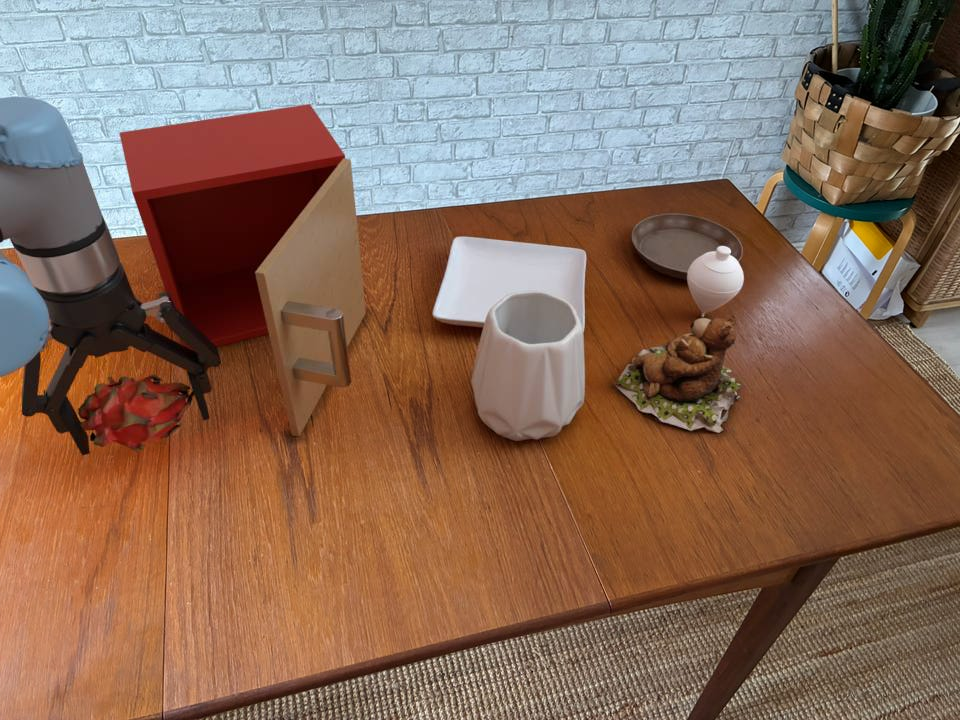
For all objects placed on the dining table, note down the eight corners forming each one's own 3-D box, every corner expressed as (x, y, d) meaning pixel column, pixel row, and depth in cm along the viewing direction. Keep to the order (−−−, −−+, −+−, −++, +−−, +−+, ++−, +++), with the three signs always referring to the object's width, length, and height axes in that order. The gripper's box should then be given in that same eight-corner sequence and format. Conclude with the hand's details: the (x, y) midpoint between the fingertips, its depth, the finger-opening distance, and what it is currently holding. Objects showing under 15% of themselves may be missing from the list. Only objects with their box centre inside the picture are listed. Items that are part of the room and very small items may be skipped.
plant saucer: (621, 225, 122) (624, 210, 120) (722, 228, 122) (727, 213, 120) (638, 287, 109) (641, 271, 107) (751, 290, 109) (757, 274, 107)
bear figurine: (642, 340, 100) (660, 270, 91) (747, 381, 94) (776, 311, 86) (603, 399, 91) (619, 327, 83) (716, 447, 86) (745, 376, 77)
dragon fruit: (86, 455, 79) (199, 432, 84) (82, 470, 71) (207, 443, 77) (70, 381, 78) (186, 362, 83) (65, 387, 70) (192, 366, 75)
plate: (584, 264, 113) (587, 246, 111) (581, 352, 98) (584, 333, 95) (453, 251, 114) (453, 233, 112) (430, 336, 99) (430, 317, 97)
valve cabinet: (361, 310, 103) (345, 154, 86) (187, 354, 95) (132, 192, 78) (329, 252, 113) (310, 103, 96) (170, 287, 105) (119, 132, 88)
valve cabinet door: (408, 319, 101) (401, 166, 85) (350, 447, 84) (326, 283, 67) (359, 311, 102) (343, 158, 86) (291, 435, 85) (254, 272, 68)
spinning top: (712, 297, 108) (734, 230, 100) (738, 329, 102) (764, 260, 94) (667, 305, 106) (685, 237, 98) (692, 337, 101) (713, 268, 93)
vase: (509, 356, 96) (516, 265, 86) (600, 400, 91) (620, 309, 80) (447, 416, 88) (447, 323, 78) (543, 470, 82) (557, 377, 72)
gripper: (207, 224, 71) (248, 377, 86) (-72, 280, 63) (26, 438, 78) (220, 265, 66) (262, 419, 81) (-80, 331, 58) (26, 488, 73)
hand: (146, 428), depth 79 cm, fingers closed on dragon fruit, 12 cm apart
